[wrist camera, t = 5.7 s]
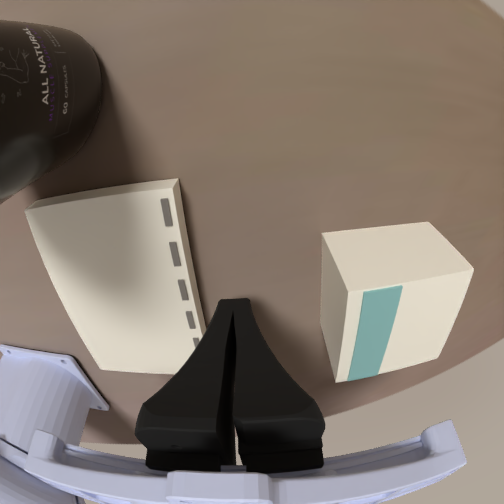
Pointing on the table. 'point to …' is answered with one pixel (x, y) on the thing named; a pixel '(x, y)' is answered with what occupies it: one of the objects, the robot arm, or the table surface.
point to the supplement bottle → (43, 100)
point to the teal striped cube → (388, 297)
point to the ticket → (124, 273)
